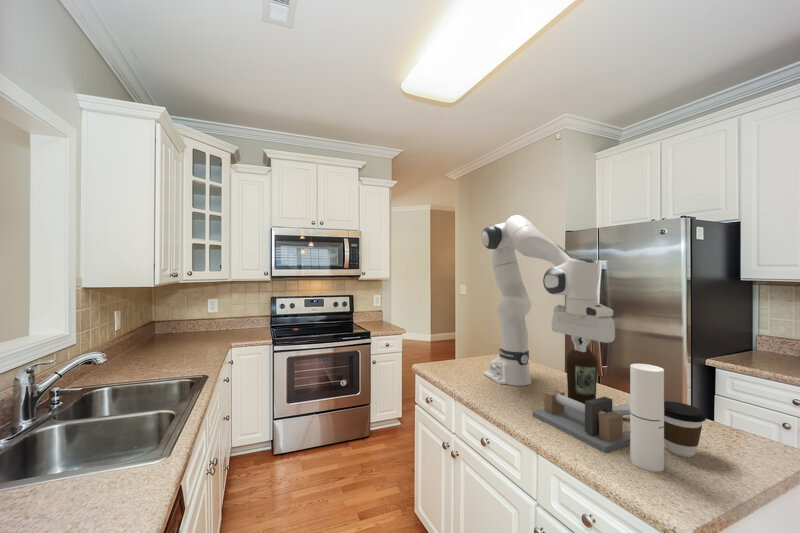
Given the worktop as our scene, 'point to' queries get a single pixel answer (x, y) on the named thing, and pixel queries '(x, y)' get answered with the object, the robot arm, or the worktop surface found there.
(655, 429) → the cylindrical container
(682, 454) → the coffee cup
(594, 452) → the worktop surface
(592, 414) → the collar
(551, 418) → the pipe stand
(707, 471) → the worktop surface
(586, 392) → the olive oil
